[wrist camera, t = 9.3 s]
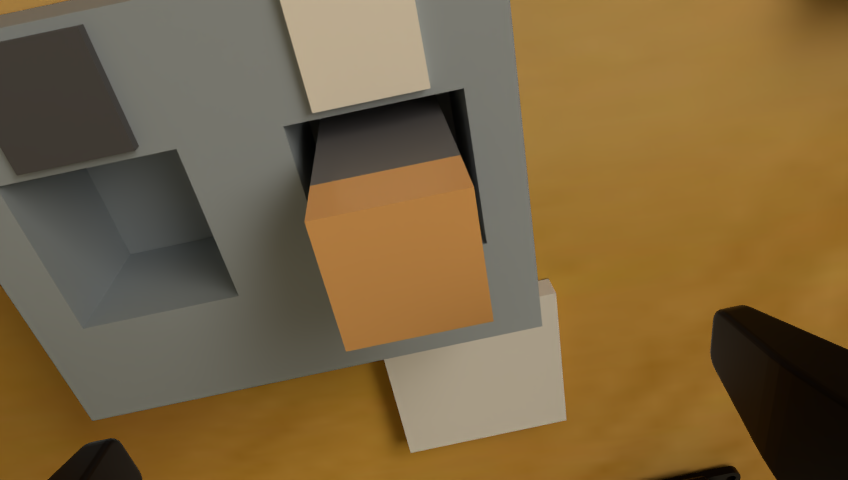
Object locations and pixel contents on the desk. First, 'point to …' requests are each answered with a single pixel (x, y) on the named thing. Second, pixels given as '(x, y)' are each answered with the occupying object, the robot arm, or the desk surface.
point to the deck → (482, 384)
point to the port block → (228, 180)
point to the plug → (396, 225)
